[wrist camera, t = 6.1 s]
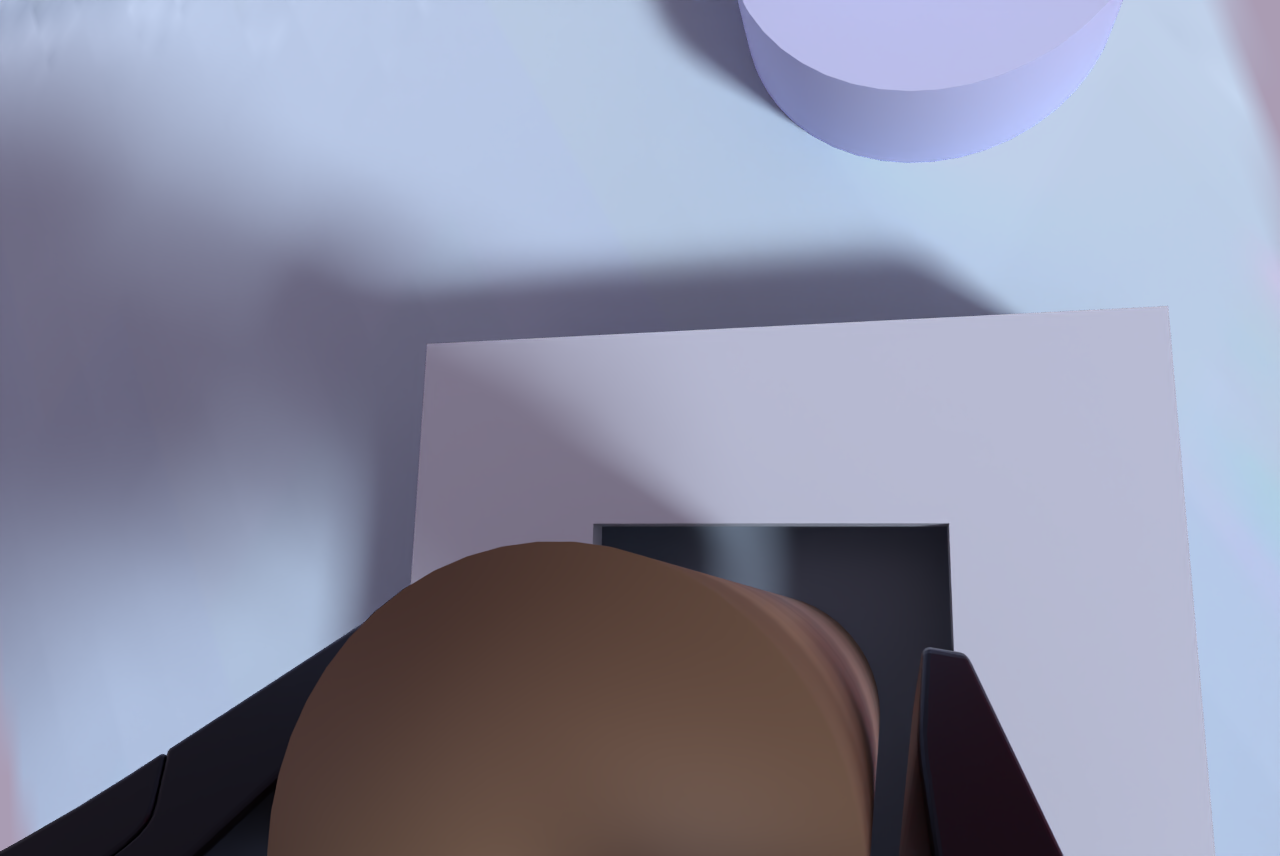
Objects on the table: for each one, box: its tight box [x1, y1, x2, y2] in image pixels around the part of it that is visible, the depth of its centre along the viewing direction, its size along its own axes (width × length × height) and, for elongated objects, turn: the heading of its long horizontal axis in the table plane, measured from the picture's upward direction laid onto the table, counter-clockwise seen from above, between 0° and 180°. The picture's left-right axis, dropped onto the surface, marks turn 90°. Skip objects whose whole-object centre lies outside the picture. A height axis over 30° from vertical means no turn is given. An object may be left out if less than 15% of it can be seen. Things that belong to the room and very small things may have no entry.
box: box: [411, 306, 1215, 856], centre depth 19 cm, size 14×14×5 cm
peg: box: [267, 542, 880, 856], centre depth 12 cm, size 4×4×12 cm
